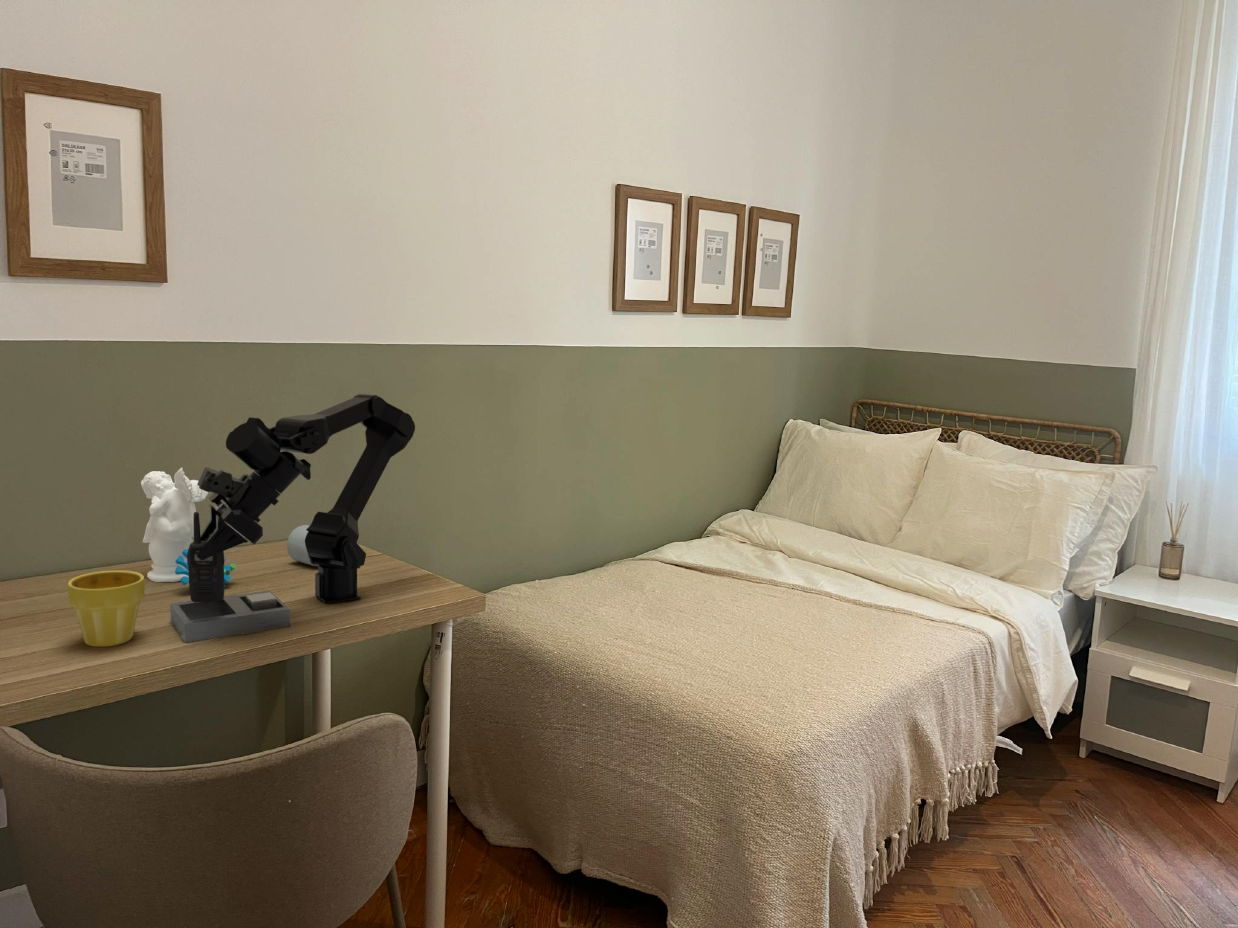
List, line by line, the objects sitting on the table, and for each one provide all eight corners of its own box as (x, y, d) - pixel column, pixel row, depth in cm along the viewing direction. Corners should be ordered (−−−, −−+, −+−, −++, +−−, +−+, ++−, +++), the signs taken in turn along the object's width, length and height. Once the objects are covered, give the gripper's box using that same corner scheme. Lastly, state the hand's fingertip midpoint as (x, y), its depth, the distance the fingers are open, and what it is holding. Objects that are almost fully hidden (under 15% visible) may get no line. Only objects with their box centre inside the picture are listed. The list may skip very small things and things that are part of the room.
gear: (182, 590, 166) (172, 544, 170) (171, 608, 169) (161, 562, 173) (243, 588, 174) (232, 543, 178) (231, 605, 177) (220, 560, 181)
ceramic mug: (311, 571, 187) (311, 533, 186) (286, 563, 192) (286, 527, 191) (353, 562, 196) (353, 526, 195) (328, 555, 200) (328, 520, 199)
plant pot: (135, 650, 141) (133, 587, 139) (60, 652, 139) (56, 589, 137) (154, 627, 151) (152, 569, 149) (84, 629, 149) (81, 570, 147)
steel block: (270, 614, 160) (270, 592, 159) (277, 621, 157) (276, 598, 156) (246, 618, 158) (245, 595, 157) (252, 625, 154) (251, 601, 154)
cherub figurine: (137, 575, 180) (131, 462, 177) (200, 564, 189) (196, 457, 186) (165, 587, 172) (160, 470, 169) (229, 575, 182) (226, 464, 179)
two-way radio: (186, 604, 150) (182, 514, 146) (193, 594, 154) (189, 506, 151) (223, 603, 151) (220, 514, 148) (229, 593, 155) (225, 506, 152)
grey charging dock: (270, 606, 164) (269, 590, 163) (290, 626, 154) (289, 608, 154) (170, 620, 155) (170, 603, 154) (185, 642, 145) (184, 623, 144)
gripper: (220, 442, 158) (151, 511, 154) (237, 459, 142) (160, 536, 138) (271, 484, 163) (205, 552, 159) (292, 505, 147) (220, 581, 143)
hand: (197, 554), depth 150 cm, fingers closed on two-way radio, 5 cm apart
